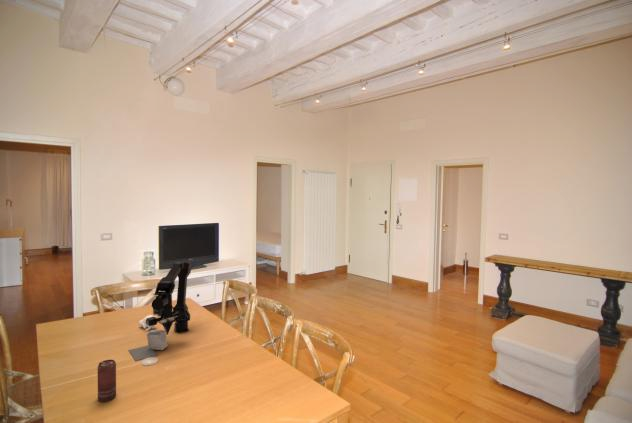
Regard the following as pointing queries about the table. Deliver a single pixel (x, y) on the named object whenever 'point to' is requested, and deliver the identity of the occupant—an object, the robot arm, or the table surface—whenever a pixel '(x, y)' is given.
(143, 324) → the white animal figurine
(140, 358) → the mat
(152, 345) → the medicine box
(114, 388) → the can
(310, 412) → the table surface
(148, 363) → the white glossy disc
